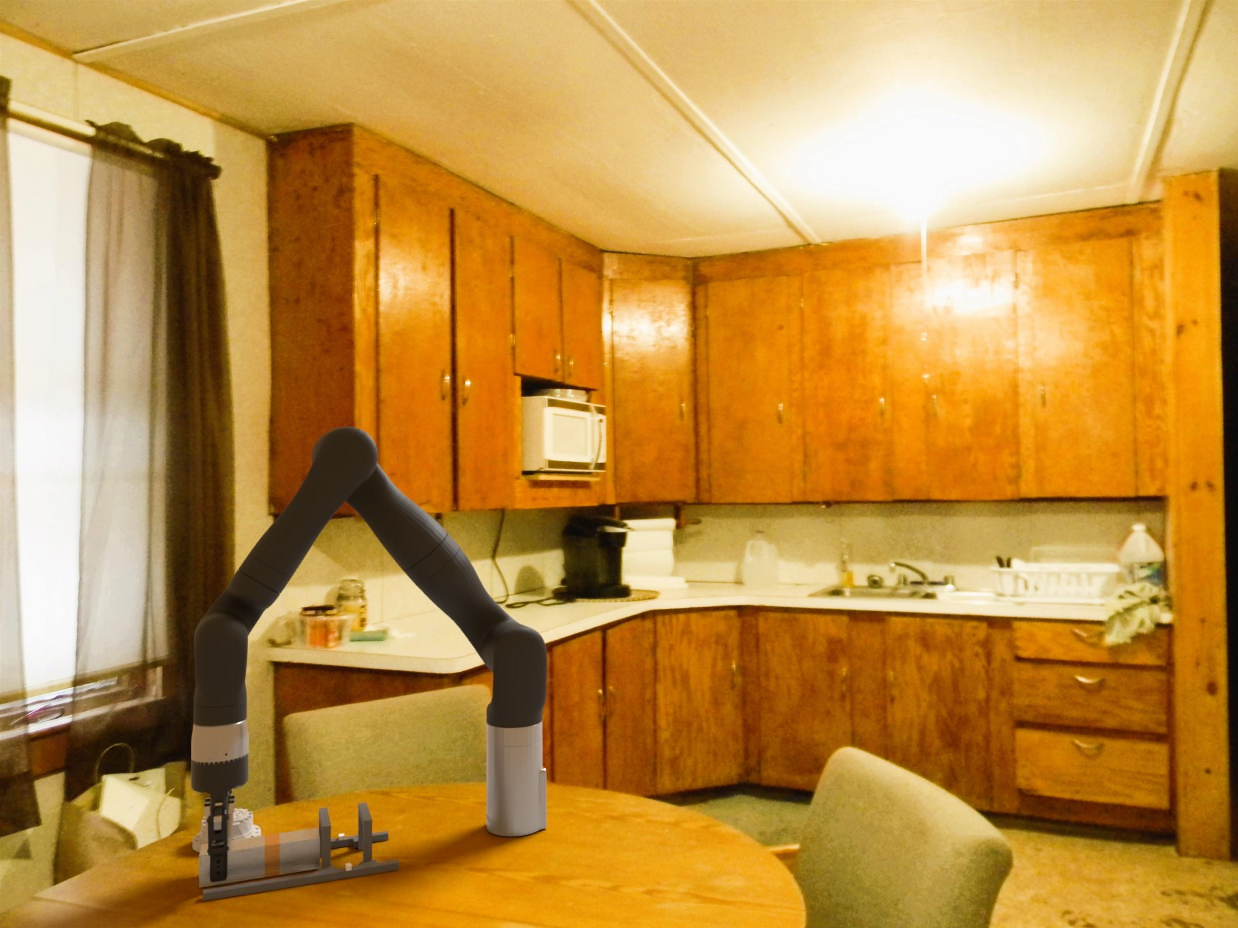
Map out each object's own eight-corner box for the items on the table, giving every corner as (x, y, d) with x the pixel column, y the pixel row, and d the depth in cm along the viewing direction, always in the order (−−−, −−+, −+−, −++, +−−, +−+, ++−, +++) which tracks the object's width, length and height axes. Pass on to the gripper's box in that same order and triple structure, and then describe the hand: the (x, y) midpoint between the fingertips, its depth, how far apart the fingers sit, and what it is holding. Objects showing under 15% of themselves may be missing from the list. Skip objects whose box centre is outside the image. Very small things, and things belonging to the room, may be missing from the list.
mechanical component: (177, 853, 136) (235, 858, 134) (178, 824, 136) (235, 828, 134) (219, 830, 145) (273, 833, 143) (219, 802, 145) (273, 806, 144)
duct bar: (318, 857, 132) (318, 827, 133) (319, 868, 128) (319, 837, 129) (201, 875, 126) (201, 844, 127) (198, 887, 122) (199, 855, 123)
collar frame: (387, 837, 141) (387, 794, 141) (399, 869, 128) (399, 822, 128) (208, 863, 131) (209, 816, 131) (202, 900, 118) (203, 849, 119)
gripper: (247, 762, 121) (246, 889, 120) (249, 737, 134) (248, 851, 133) (187, 769, 118) (186, 899, 117) (195, 743, 131) (194, 859, 131)
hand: (219, 872), depth 125 cm, fingers closed on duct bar, 4 cm apart
